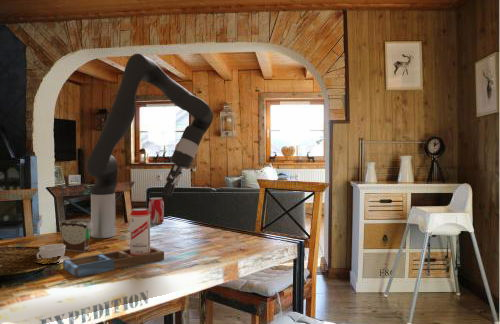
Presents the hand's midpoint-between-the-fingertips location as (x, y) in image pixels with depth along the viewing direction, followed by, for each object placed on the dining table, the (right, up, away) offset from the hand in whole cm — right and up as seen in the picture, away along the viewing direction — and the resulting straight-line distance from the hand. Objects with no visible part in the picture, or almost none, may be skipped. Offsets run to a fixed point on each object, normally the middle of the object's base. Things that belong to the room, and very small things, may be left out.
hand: (166, 194), depth 141 cm
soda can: (-15, -18, +48) cm, 54 cm away
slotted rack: (-11, -19, -19) cm, 30 cm away
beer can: (-5, -20, -14) cm, 24 cm away
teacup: (-32, -20, -16) cm, 41 cm away
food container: (-30, -19, -1) cm, 36 cm away
